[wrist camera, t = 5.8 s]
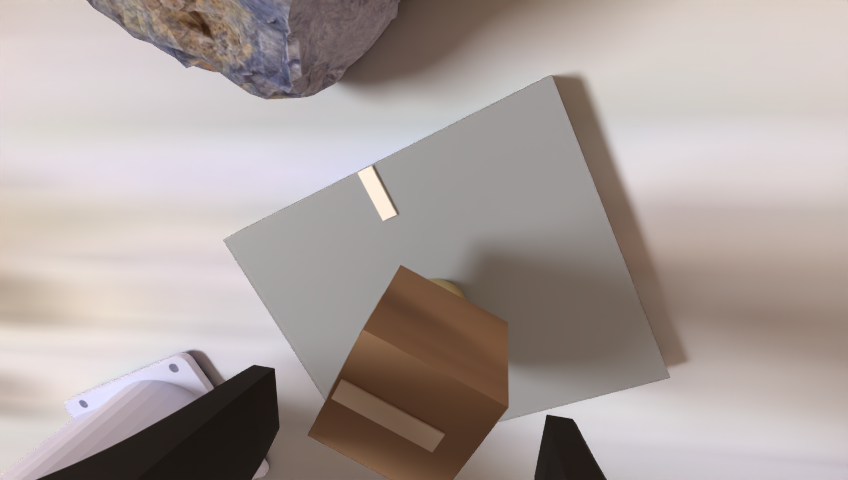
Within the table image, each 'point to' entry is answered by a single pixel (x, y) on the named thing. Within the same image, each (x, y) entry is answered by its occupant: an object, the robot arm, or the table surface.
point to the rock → (259, 37)
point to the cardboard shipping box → (418, 383)
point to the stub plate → (467, 254)
